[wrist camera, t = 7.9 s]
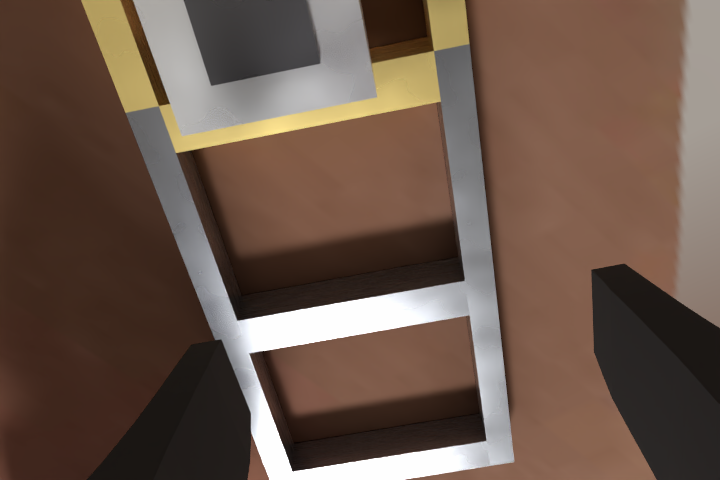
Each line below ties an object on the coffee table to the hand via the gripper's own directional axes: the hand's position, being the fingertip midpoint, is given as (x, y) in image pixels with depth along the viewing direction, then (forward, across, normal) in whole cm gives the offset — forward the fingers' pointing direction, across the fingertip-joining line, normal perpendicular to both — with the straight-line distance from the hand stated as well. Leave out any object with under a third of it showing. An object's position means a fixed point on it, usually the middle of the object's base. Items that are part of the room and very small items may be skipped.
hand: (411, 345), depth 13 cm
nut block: (+10, +2, -6) cm, 12 cm away
